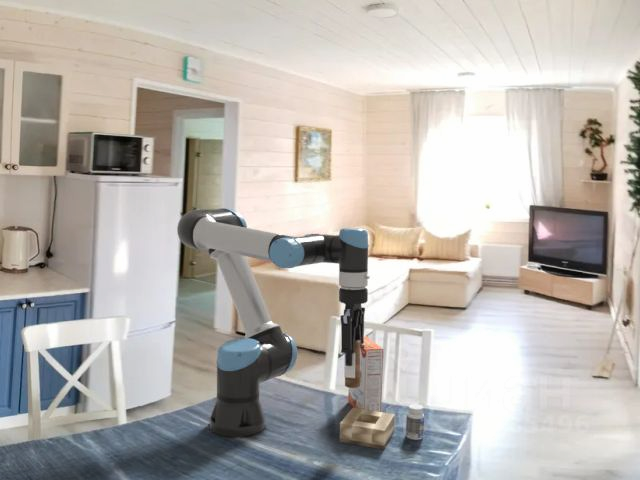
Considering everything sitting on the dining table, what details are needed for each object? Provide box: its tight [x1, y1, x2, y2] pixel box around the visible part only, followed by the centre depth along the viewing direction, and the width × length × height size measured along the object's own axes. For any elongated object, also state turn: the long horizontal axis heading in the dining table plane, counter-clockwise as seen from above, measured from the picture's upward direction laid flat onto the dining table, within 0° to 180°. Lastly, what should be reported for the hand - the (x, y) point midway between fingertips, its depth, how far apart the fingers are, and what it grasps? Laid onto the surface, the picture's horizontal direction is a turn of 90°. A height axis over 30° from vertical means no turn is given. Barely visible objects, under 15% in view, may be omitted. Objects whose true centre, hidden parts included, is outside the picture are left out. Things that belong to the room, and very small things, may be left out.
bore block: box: [338, 407, 396, 450], centre depth 160 cm, size 12×12×5 cm
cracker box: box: [347, 336, 384, 412], centre depth 178 cm, size 14×6×21 cm, turn 16°
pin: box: [344, 339, 360, 389], centre depth 157 cm, size 4×4×12 cm
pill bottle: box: [405, 403, 425, 441], centre depth 161 cm, size 5×5×8 cm
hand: (352, 374), depth 157 cm, fingers closed on pin, 4 cm apart
